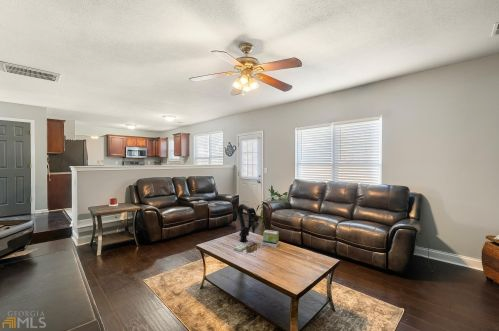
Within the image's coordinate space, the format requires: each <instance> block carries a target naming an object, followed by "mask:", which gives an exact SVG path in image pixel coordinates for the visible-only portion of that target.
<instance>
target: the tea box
mask: <svg viewBox="0 0 499 331" xmlns="http://www.w3.org/2000/svg"><path fill="white" fill-rule="evenodd" d="M279 233H280V232H279V231H278V230H271V229H265V230H264V231H263V232H262V245H263V246H266V247H271V248H277V247H278V246H279V237H280V236H279Z"/></svg>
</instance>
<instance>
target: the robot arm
mask: <svg viewBox="0 0 499 331" xmlns="http://www.w3.org/2000/svg"><path fill="white" fill-rule="evenodd" d="M244 211H245V212H246V213H247V217H248V220H247V223H248V224H247V225H246V223H245V220H244V215H243V214H244ZM235 213H236V215H238V220H239V224H240V232H239V233H238V235H239V237H240V240H239V242H240V243H241V242H242V243H246V242H248V240H247V239H248V236H249V235H250V231H252V234H255V231H256V229H258V227H260V223H259V222H258V221H259V219H260V218H259V217H258V215H257V212H256V210H255V208H253V207H249V206H247V205H245V204H243V203H241V204H238V206H236V207H235Z"/></svg>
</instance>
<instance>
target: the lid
mask: <svg viewBox="0 0 499 331" xmlns="http://www.w3.org/2000/svg"><path fill="white" fill-rule="evenodd" d="M246 246H247V245H244V244H240V245H238V246H236V247H235V248H234V249H235V250H238V251H242V250H243V249H245V248H246ZM235 250H234V251H235ZM238 251H237V252H238ZM242 252H243V251H242Z"/></svg>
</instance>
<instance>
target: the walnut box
mask: <svg viewBox="0 0 499 331" xmlns="http://www.w3.org/2000/svg"><path fill="white" fill-rule="evenodd" d="M245 246H246V250H245V251H246V253H249V254H251V253H253V252H255V251H257V250H258V243H257V242H253V243H252V244H250V245H245Z"/></svg>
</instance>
